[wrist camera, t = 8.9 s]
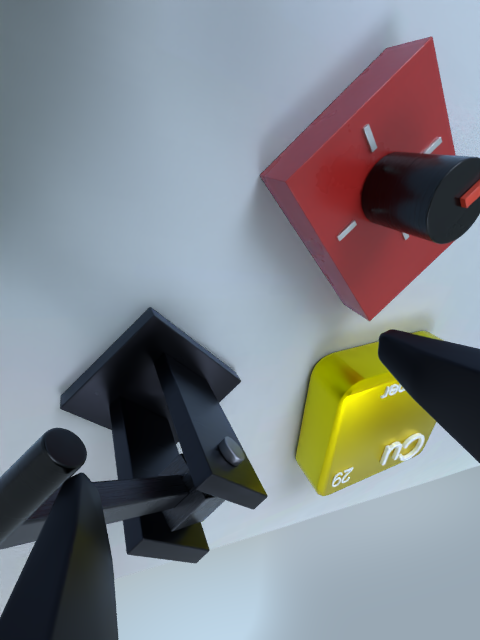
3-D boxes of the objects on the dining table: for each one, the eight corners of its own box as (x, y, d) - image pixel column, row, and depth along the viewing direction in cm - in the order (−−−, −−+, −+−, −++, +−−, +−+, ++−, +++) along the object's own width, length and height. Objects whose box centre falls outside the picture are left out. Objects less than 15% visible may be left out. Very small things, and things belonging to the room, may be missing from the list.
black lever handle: (-115, 552, 8) (-116, 663, 7) (32, 405, 8) (58, 493, 7) (159, 500, 18) (179, 542, 17) (230, 433, 18) (256, 471, 16)
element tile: (433, 325, 34) (478, 350, 30) (393, 427, 41) (426, 458, 37) (312, 355, 28) (348, 391, 24) (291, 467, 36) (317, 507, 32)
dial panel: (258, 175, 19) (287, 182, 16) (386, 47, 18) (435, 34, 16) (343, 304, 27) (371, 322, 24) (434, 218, 26) (471, 227, 24)
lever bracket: (60, 395, 20) (49, 575, 12) (150, 306, 20) (202, 429, 12) (163, 441, 26) (204, 586, 18) (235, 371, 25) (311, 487, 17)
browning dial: (373, 237, 20) (441, 262, 17) (351, 186, 18) (424, 202, 14) (421, 192, 20) (500, 206, 16) (404, 134, 18) (493, 136, 14)
